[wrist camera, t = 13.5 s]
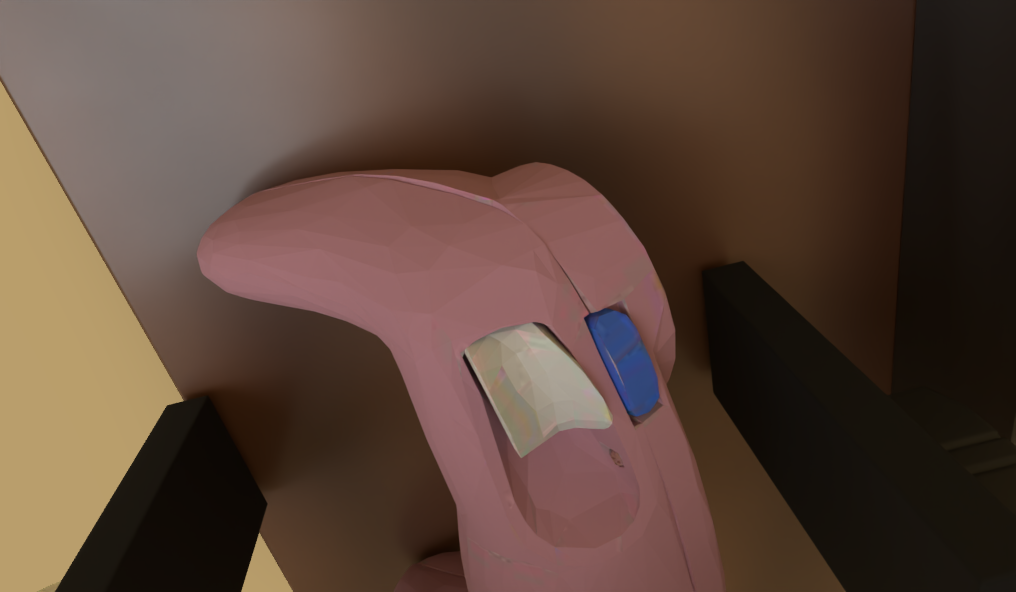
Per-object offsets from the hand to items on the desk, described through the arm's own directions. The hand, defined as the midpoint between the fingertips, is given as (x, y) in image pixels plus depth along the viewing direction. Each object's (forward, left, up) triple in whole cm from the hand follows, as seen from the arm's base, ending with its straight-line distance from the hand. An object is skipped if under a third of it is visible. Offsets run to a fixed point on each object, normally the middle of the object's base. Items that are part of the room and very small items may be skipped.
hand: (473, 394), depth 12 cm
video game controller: (0, 0, -1) cm, 1 cm away
